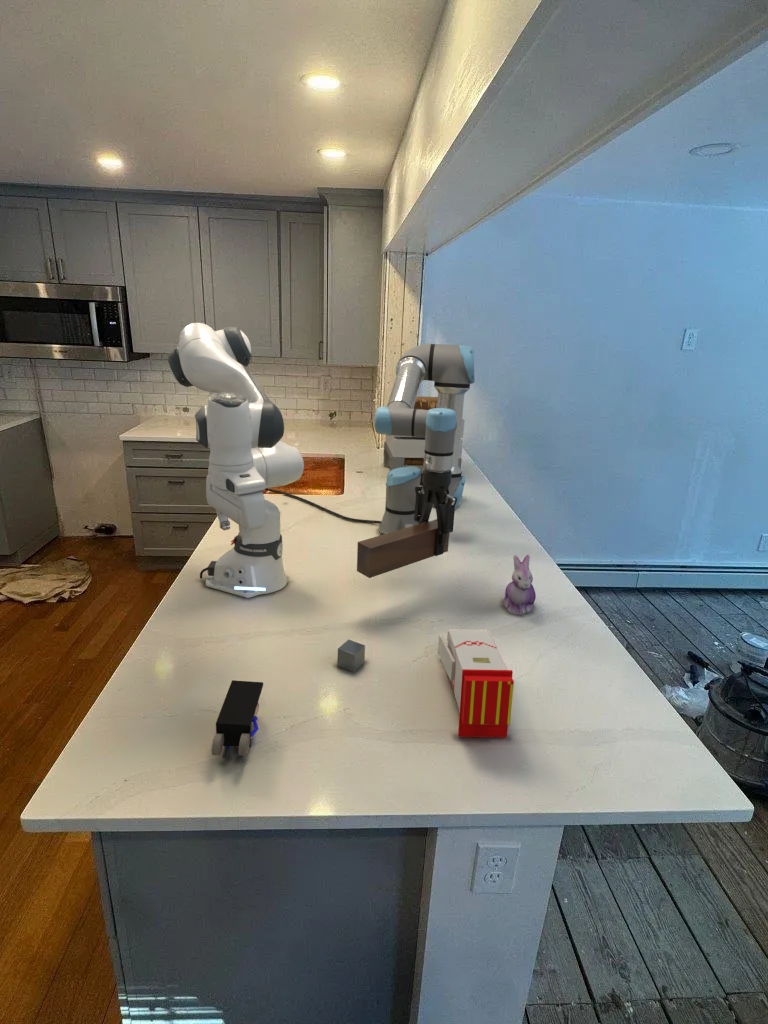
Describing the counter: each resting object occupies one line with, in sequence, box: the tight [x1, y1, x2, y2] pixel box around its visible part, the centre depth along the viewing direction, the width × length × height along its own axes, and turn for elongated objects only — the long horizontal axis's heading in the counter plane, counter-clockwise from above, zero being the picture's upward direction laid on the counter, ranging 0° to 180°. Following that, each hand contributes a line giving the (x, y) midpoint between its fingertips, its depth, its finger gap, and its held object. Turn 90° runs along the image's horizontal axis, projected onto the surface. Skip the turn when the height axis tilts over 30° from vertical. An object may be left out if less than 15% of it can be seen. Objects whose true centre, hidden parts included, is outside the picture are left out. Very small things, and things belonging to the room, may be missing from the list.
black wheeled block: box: [211, 679, 264, 761], centre depth 102 cm, size 7×8×15 cm
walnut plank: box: [356, 518, 450, 579], centre depth 148 cm, size 5×28×8 cm, turn 131°
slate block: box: [336, 639, 366, 673], centre depth 125 cm, size 4×4×4 cm
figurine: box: [503, 553, 537, 615], centre depth 151 cm, size 9×10×15 cm
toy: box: [437, 628, 515, 738], centre depth 117 cm, size 12×13×30 cm
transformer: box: [383, 395, 465, 472], centre depth 268 cm, size 34×33×41 cm
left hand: (234, 536), depth 121 cm, fingers open, 8 cm apart
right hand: (431, 550), depth 155 cm, fingers closed on walnut plank, 5 cm apart
